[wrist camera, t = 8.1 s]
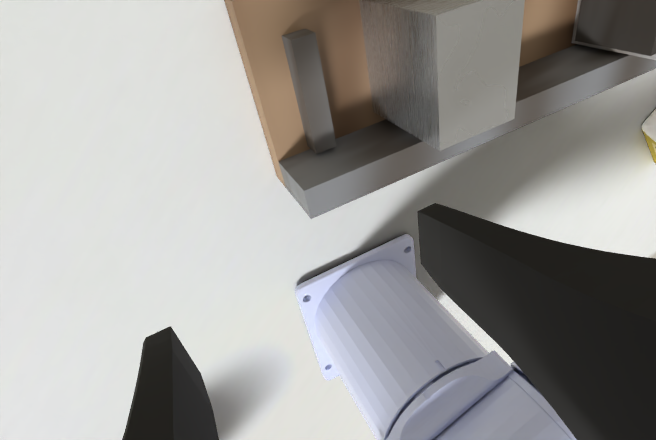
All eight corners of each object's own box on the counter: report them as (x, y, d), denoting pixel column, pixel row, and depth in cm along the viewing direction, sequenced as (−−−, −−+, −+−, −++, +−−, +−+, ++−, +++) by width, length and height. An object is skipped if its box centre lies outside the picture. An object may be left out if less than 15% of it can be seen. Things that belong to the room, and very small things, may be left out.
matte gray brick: (443, 84, 21) (522, 115, 17) (372, 111, 20) (439, 150, 16) (441, -27, 18) (535, -19, 14) (358, -1, 17) (436, 15, 13)
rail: (668, -128, 22) (827, -147, 17) (630, 34, 27) (746, 54, 22) (223, -2, 16) (279, 20, 11) (277, 176, 21) (331, 244, 16)
